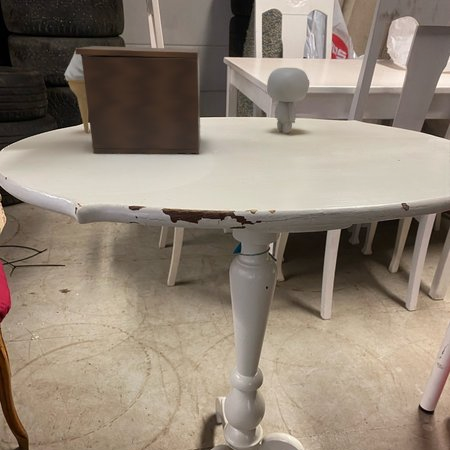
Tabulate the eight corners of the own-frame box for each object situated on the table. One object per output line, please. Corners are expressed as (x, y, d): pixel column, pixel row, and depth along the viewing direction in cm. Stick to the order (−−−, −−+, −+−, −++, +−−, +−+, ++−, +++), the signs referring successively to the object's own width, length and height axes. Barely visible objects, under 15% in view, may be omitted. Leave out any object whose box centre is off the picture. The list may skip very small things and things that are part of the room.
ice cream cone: (69, 134, 91) (56, 47, 84) (76, 129, 96) (64, 46, 88) (98, 135, 91) (88, 48, 84) (103, 130, 96) (94, 47, 89)
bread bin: (93, 153, 78) (81, 56, 71) (107, 138, 89) (98, 53, 82) (198, 154, 78) (197, 58, 71) (200, 139, 89) (199, 54, 82)
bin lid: (75, 54, 71) (74, 48, 70) (93, 51, 81) (93, 46, 81) (197, 58, 71) (197, 52, 71) (199, 54, 82) (199, 49, 82)
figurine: (310, 134, 95) (317, 68, 89) (278, 137, 92) (282, 69, 86) (289, 127, 101) (294, 66, 95) (259, 130, 98) (262, 66, 92)
